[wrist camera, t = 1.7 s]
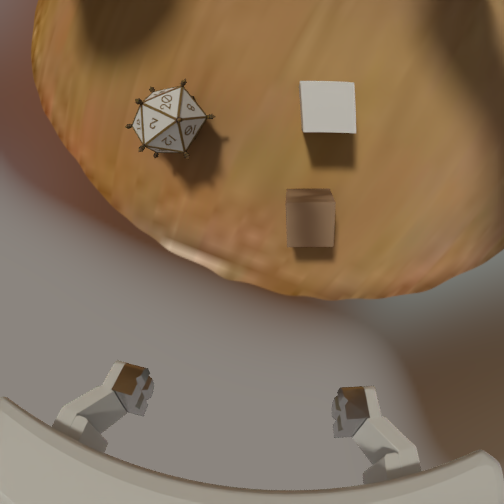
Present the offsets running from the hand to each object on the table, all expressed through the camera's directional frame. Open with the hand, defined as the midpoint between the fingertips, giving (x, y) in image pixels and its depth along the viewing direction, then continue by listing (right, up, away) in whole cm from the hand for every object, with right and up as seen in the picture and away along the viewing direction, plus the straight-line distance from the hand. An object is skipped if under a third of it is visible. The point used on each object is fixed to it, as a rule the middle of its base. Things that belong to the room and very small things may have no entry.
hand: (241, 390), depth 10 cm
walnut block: (+7, +11, +22) cm, 25 cm away
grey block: (+8, +21, +16) cm, 28 cm away
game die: (-8, +21, +18) cm, 29 cm away
